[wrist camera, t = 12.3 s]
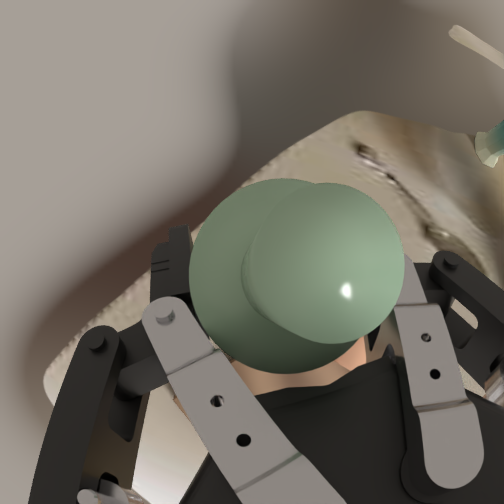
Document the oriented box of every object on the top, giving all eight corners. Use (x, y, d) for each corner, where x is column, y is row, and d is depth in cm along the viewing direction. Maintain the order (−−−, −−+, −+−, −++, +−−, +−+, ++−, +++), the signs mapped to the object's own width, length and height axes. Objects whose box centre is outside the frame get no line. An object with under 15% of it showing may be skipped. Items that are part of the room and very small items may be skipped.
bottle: (259, 230, 19) (351, 81, 5) (305, 296, 19) (488, 292, 5) (191, 275, 18) (107, 216, 4) (238, 343, 18) (292, 472, 4)
